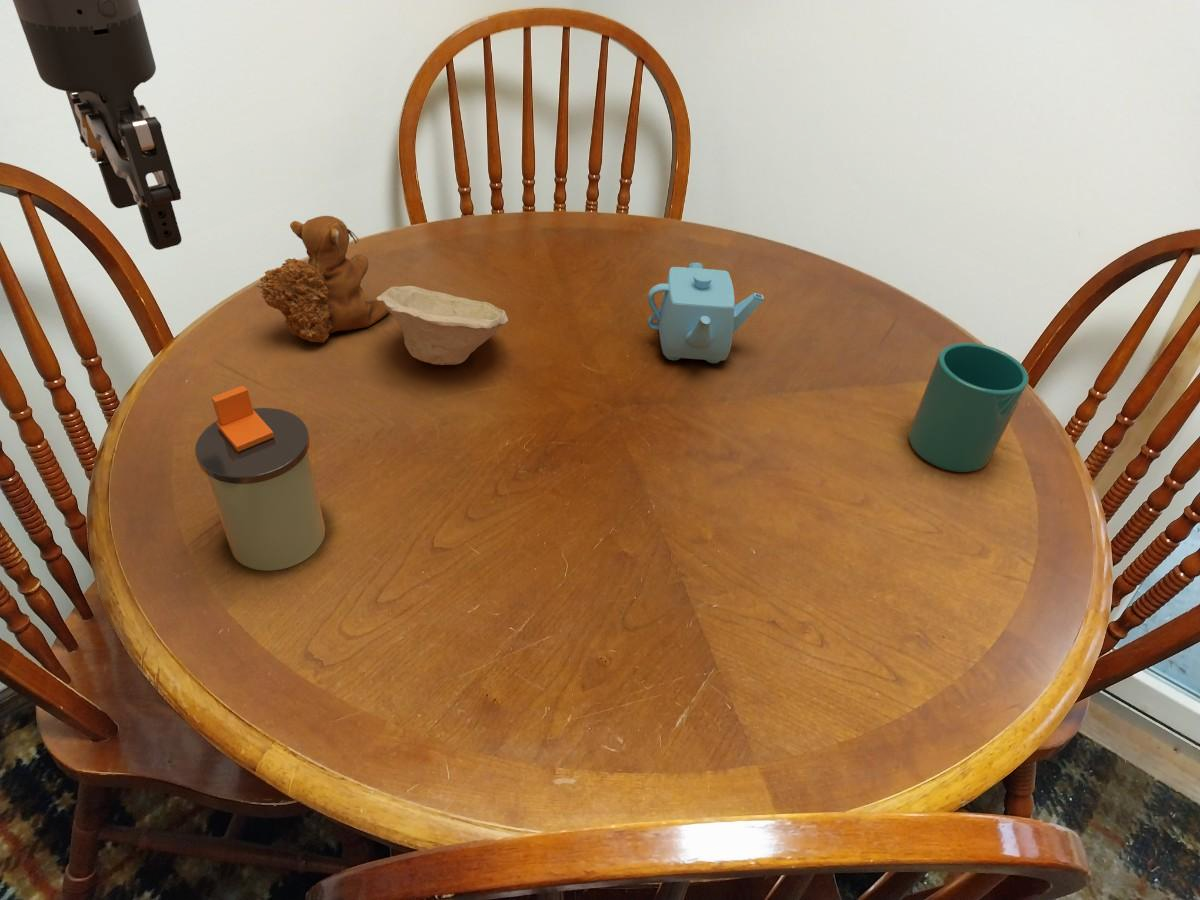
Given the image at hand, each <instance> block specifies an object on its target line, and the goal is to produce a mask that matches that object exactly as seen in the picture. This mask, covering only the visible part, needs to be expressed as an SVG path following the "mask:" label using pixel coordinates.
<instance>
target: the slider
mask: <svg viewBox="0 0 1200 900" xmlns="http://www.w3.org/2000/svg"><path fill="white" fill-rule="evenodd" d="M211 402H212V406H213V408H214V411H215V415H216V419H217V420H218V421H219V422H216V424H217V427H218V429H219V430H220V431H221V432H222V434H223V435H224V436H225V437H226V438H227V440H228V441H229V442H230V443H231V444H232V446H233V447H234V448H235V449H236V450H237V452H239V451H242V450H244V449H247V448H249V447H252V446H254V445H256V444H259V443H261V442H264V441H266V440H268V439H271V438H273V437H274V433H273V431H272V430H271V429H270V428H269V427H268V426H267V425H266V423H265V422H264V421H263V420H262V419H261V418H260V417H259V416H258V414H257V413H256V412H255V411H254V410H253V409H254V408H253V405H252V401H251V397H250V394H249V390H248V389H247V387H245V385H241V386H238V387H235V388H233V389H230V390H227V391H224V392H222V393H219V394H216V395H214V396H212V397H211Z"/></svg>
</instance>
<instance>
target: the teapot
mask: <svg viewBox="0 0 1200 900" xmlns="http://www.w3.org/2000/svg"><path fill="white" fill-rule="evenodd" d="M734 290H735V289H734V286H733V281H732V278H731V275H730V273H729V272H728V271H727V270H723V269H714V268H713V269H712V268H704V264H703V263H702V262H696V261H695V262H690V263H688V266H687V267H683V266H671V267H670V269H669V272H668V275H667V278H666V281H665V282H664V283H658V284H656V285H654V286H653V287H651V288H650V290H649V291H648V294H647V301H648V305H649V308H650V310H651V311H652V313H653V314H651V315H649V316H648V318H647V326H648V327H649V328H650V329H651V330H654V331H655V330H657V331H658V333H659V341H660V346H661V351H662V354H663V356H665V358H666V359H668V360H671V361H678V360H680V359H688V360H689V359H691V360H702V361H703V360H705V362H707V363H710V364H718V363H720V362H721V361H726V360H727V359H728V356H729V354H730V352H731V348H732V343H733V337H734V334H735V333H736V332H737V331H738V329H740V327H741V326H742V325H743V324H744V323H745V322H746V320H748V318H749V317H750V316H751V315H752V314H753V313H754V312H755V311H756V310H757V309H758V308H759V306H760V305H761V304H762V303H763V302H765V301H764V300H765V298H764V294H761V293H757V292H753V293H752V294H751V295H749V296H748V297H746V298H744V299H742V300H741V301H740V302H738V303H737V304H736V303H735V302H736V301H735V291H734ZM662 292H663V293H662ZM659 293H662V297H661V302H660V308H659V307H658V306H657V303H656V302H655V298H654V297H655V295H656V294H659ZM654 320H656V322H654Z"/></svg>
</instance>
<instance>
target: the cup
mask: <svg viewBox="0 0 1200 900" xmlns="http://www.w3.org/2000/svg"><path fill="white" fill-rule="evenodd" d="M1028 384H1029V373H1028V372H1027V370H1026V368H1025V367H1024V366H1023V364H1022V363H1021V362H1020V361H1019V360H1017V359H1016V358H1014V357H1013V356H1012V355H1010V354H1008V353H1006V352H1004V351H1002V350H1000V349H998V348H995V347H992V346H989V345H986V344H981V343H975V342H958V343H957V342H956V343H953V344H950V345H947V346H946V347H944V348H943V349H941V351H940V352H939V355H938V357H937V359H936V362H935V364H934V367H933V369H932V372H931V375H930V377H929V380H928V382H927V384H926V387H925V389H924V392H923V395H922V397H921V400H920V402H919V404H918V407H917V410H916V412H915V415H914V417H913V420H912V422H911V425H910V427H909V430H908V439H909V444H910V445H911V447H912V449H913V450H914V452H915V453H916V454H917V455H918V456H919V457H920V458H921V459H923V460H924V461H926V462H927V463H929V464H931V465H933V466H935V467H936V468H939V469H942V470H945V471H949V472H954V473H955V472H957V473H970V472H976V471H979V470H981V469H983V468H984V467H985V466H987V465H988V464H989V462H991V459H992V457H993V455H994V453H995V451H996V449H997V447H998V445H999V443H1000V441H1001V439H1002V437H1003V435H1004V433H1005V431H1006V429H1007V427H1008V425H1009V423H1010V420H1011V419H1012V417H1013V414H1014V413H1015V410H1016V409H1017V407H1018V405H1019V402H1020V401H1021V398H1023V397H1022V396H1023V395H1024V393H1025V390H1026V389H1027V386H1028Z"/></svg>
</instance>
